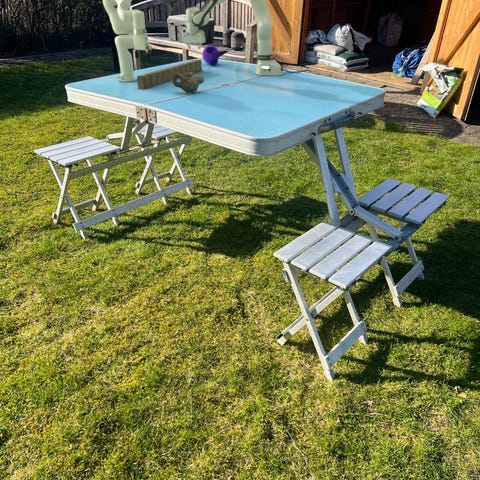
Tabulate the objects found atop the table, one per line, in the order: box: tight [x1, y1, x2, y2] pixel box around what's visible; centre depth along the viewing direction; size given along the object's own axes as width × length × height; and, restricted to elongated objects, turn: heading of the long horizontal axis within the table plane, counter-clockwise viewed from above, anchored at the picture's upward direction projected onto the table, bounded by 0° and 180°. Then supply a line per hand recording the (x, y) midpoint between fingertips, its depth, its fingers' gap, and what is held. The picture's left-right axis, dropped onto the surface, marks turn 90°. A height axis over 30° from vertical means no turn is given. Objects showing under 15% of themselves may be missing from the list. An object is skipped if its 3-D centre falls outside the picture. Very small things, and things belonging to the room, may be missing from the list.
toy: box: [202, 44, 229, 67], centre depth 392 cm, size 16×18×27 cm
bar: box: [136, 59, 203, 90], centre depth 342 cm, size 77×5×8 cm, turn 152°
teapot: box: [172, 69, 205, 94], centre depth 298 cm, size 21×12×15 cm, turn 109°
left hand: (142, 58), depth 310 cm, fingers open, 9 cm apart
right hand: (194, 48), depth 360 cm, fingers open, 8 cm apart
